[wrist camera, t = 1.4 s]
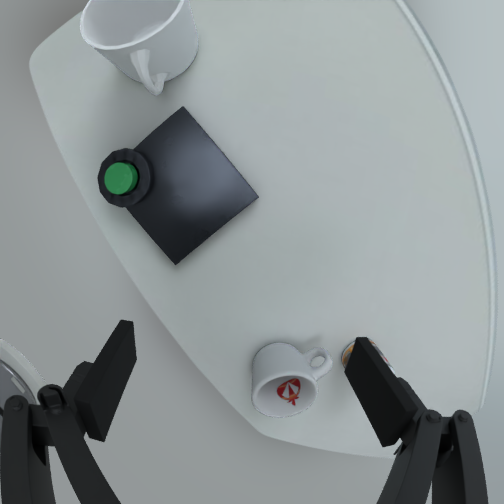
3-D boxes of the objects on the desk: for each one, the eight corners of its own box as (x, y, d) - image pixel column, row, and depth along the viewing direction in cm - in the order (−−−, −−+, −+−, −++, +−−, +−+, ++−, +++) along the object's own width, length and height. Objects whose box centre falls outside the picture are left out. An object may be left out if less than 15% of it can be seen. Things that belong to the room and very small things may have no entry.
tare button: (122, 198, 28) (116, 200, 26) (105, 177, 27) (98, 178, 25) (143, 178, 27) (138, 179, 26) (125, 156, 27) (119, 156, 25)
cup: (309, 314, 36) (327, 349, 28) (330, 354, 38) (348, 390, 31) (236, 351, 37) (238, 391, 29) (264, 386, 39) (270, 426, 31)
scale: (174, 264, 33) (168, 273, 30) (99, 176, 29) (88, 177, 26) (257, 196, 31) (260, 198, 28) (179, 101, 28) (174, 95, 25)
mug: (182, 9, 24) (166, -46, 13) (221, 80, 27) (216, 36, 16) (113, 44, 24) (71, 4, 13) (145, 117, 28) (102, 94, 17)
